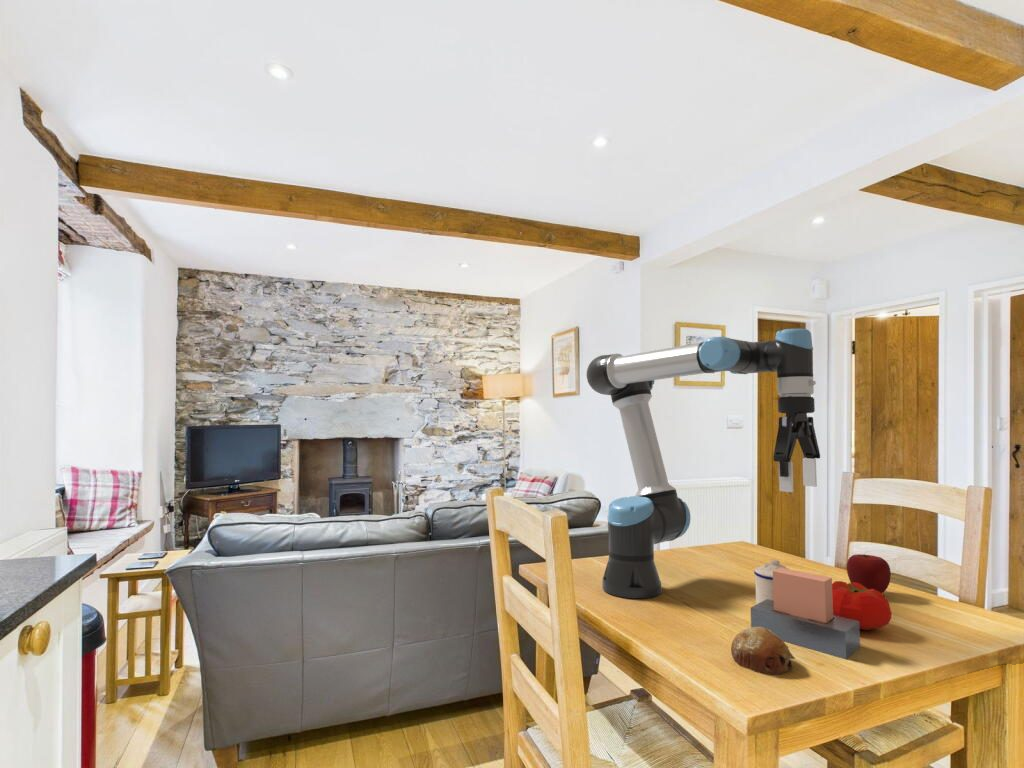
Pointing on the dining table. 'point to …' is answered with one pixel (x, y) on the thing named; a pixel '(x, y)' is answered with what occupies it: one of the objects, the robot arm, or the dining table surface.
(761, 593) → the teacup with lid
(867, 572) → the apple
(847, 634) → the grey rectangular block
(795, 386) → the robot arm
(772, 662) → the bread roll
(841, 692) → the dining table surface
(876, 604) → the tomato
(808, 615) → the chamfered pink post
